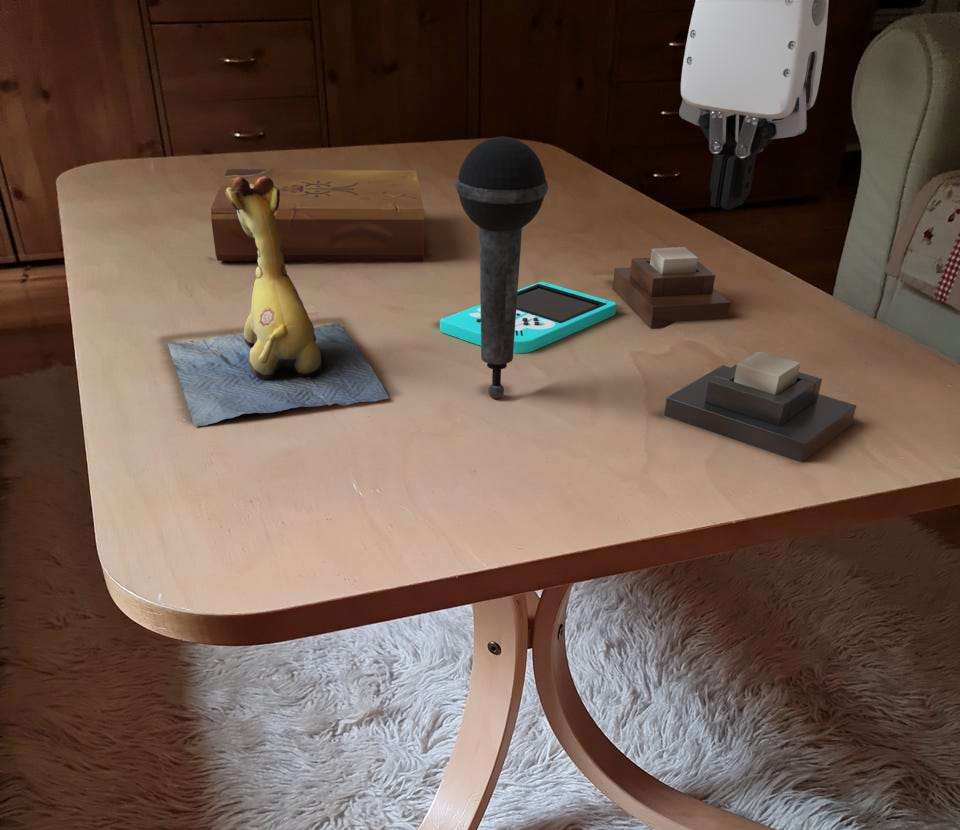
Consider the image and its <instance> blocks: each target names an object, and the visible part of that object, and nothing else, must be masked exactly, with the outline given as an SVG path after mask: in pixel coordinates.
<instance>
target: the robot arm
mask: <svg viewBox="0 0 960 830" xmlns="http://www.w3.org/2000/svg"><path fill="white" fill-rule="evenodd" d="M692 9H693V10H692V14H691V18H690V22H689V23H690V24H689V26H688V27H689V28H688V33H687V39H686V43H685V48H684V55H683V62H682V68H681V77H680V96H681V98H682V100H681V104H680V107H679V112H678V115H679V117H680V118H681V119H682V120H684V121H686V122H689V123H691V124H692V125H695V126H698V127H699V128H700V129H701V131H702V133H703V134H704V137H705V138H706V140H707V142H709V143H708V148H709V149H708V150H709V151H710V153H711V154H713V160H712V168H711V175H710V181H709V187H708V188H709V189H708V190H709V193H711V197H710V204H709V205H710V207H713V208H719V207H721V209H722V210H727V211H729V210H731V209H734V208H737V207H739V206H741V205H743V204H744V203H745V201H746V199H747V198H748V197H749V195H750V193H751V188H752V183H753V177H754V172H755V165H756V159H757V155H758V154H760V153H761V152H763V151H764V149H765V148H766V147H767V146H768V145H769V144H771V143H772V142H773V141H774V140H775V139H776V140H777V139H784V138H792V137H797V136H799V135H802V134H804V133H805V132H806V131H807V111H808V110H810V109H811V108H812V107H813V106H814V105H815V102H816V100H817V96H818V92H819V86H820V82H821V75H822V67H823V62H824V55H825V47H826V46H825V45H826V38H827V37H826V36H827V29H828V14H829V0H695V2H694V6H693V8H692ZM740 116H744V118H743V122H742V125H741V127H739V126H740ZM739 128H740V131H739Z"/></svg>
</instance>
